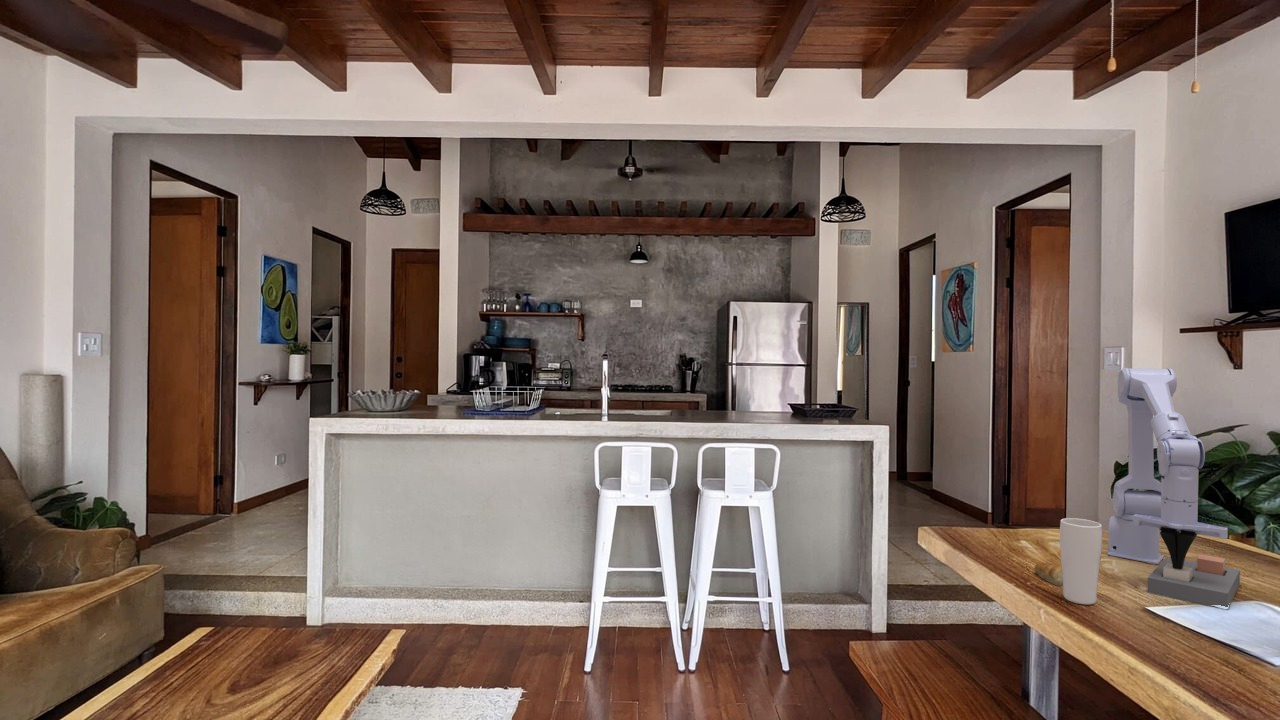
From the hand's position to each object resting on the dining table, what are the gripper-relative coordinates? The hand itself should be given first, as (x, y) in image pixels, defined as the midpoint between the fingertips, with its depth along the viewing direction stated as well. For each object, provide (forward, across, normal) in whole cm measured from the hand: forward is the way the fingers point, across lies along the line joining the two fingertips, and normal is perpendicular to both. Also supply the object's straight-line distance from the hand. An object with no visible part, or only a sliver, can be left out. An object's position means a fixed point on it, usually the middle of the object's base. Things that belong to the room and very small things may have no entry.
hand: (1177, 567), depth 134 cm
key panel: (+5, +2, +5) cm, 7 cm away
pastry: (+5, -18, -10) cm, 21 cm away
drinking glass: (+5, -12, -20) cm, 24 cm away
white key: (+3, 0, 0) cm, 3 cm away
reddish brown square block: (+2, +4, +10) cm, 11 cm away
